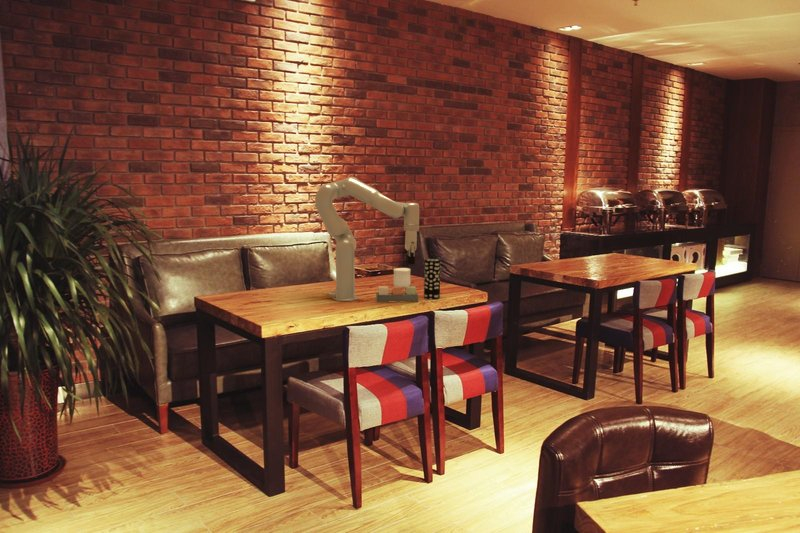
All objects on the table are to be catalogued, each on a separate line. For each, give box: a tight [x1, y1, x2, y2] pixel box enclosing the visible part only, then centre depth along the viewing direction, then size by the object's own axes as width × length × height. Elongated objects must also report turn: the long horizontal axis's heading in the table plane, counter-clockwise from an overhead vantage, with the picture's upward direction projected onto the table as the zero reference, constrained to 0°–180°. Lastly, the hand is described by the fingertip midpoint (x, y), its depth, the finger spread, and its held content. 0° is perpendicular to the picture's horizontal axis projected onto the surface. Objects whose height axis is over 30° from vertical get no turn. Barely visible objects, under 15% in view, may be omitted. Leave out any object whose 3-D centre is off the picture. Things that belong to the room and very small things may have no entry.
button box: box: [375, 291, 419, 303], centre depth 328 cm, size 21×7×4 cm, turn 96°
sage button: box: [404, 285, 417, 295], centre depth 329 cm, size 5×5×5 cm
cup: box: [392, 267, 412, 288], centre depth 368 cm, size 10×10×10 cm
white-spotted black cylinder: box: [423, 258, 442, 300], centre depth 335 cm, size 8×8×20 cm
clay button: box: [391, 285, 403, 295], centre depth 328 cm, size 5×5×5 cm
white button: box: [377, 285, 389, 295], centre depth 327 cm, size 5×5×5 cm
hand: (411, 263), depth 326 cm, fingers open, 3 cm apart
